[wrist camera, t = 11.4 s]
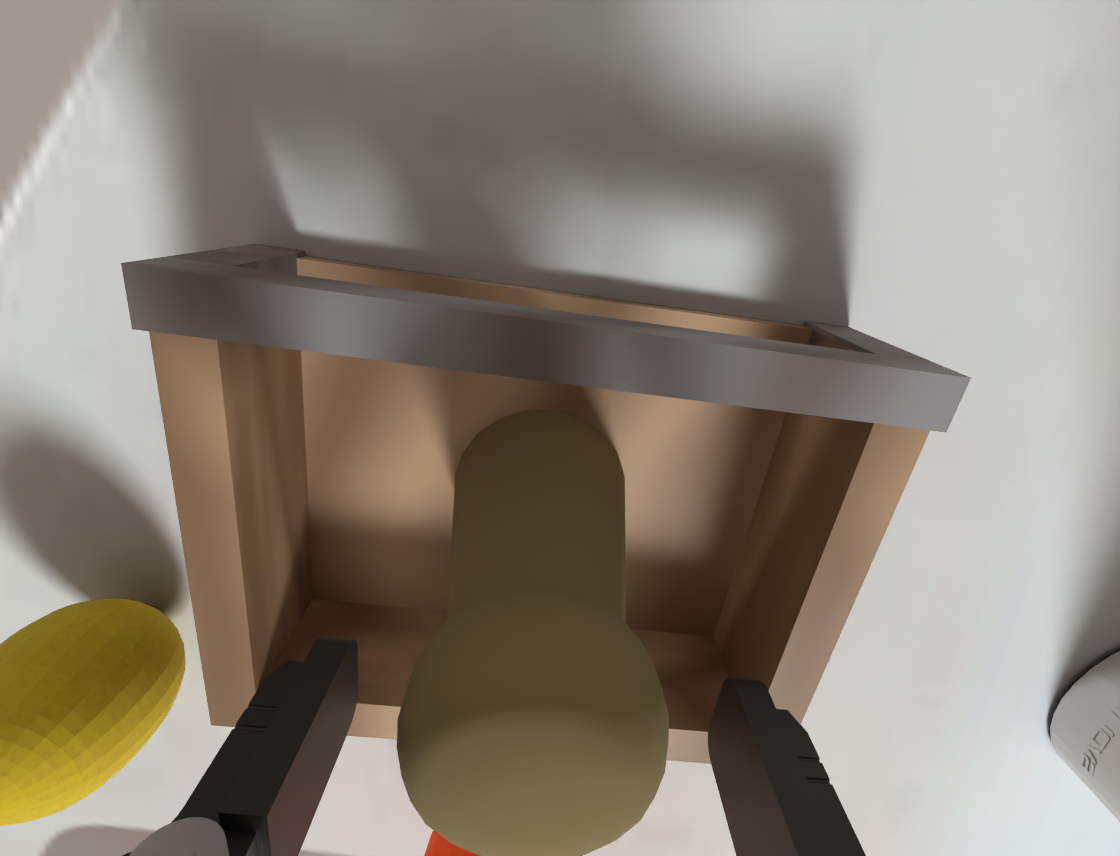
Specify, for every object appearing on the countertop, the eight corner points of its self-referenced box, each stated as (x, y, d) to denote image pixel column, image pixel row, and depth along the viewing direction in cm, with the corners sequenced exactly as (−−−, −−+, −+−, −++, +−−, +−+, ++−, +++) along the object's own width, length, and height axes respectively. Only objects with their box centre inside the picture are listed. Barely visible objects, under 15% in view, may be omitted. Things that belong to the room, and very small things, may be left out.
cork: (606, 567, 20) (664, 927, 10) (448, 548, 20) (345, 905, 10) (642, 423, 18) (761, 703, 8) (463, 396, 18) (350, 659, 8)
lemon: (82, 645, 22) (-149, 866, 15) (82, 539, 20) (-185, 733, 13) (220, 676, 23) (65, 899, 16) (234, 576, 21) (63, 779, 14)
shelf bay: (849, 327, 18) (970, 377, 13) (734, 656, 23) (786, 783, 18) (254, 244, 16) (121, 263, 11) (282, 614, 22) (201, 739, 17)
